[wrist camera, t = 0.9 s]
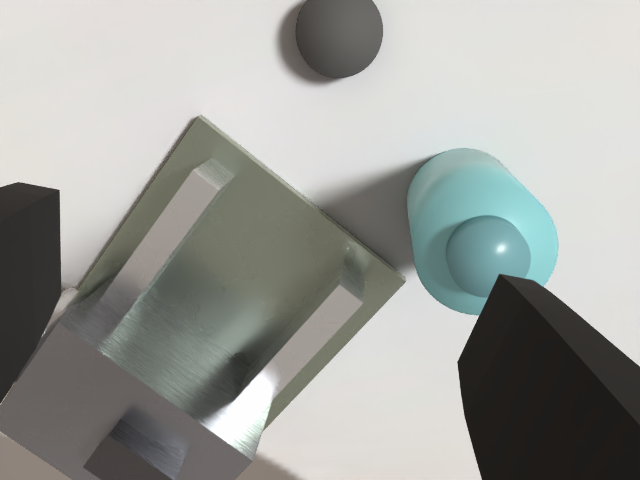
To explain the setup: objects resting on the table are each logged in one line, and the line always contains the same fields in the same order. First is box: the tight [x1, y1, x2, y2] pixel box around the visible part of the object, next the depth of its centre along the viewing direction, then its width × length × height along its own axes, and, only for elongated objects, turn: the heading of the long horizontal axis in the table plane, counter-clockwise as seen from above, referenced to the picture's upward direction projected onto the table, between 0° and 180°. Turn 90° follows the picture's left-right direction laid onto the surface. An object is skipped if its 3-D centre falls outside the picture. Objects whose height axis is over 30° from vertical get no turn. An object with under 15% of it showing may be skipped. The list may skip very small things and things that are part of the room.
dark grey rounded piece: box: [296, 0, 383, 78], centre depth 21 cm, size 3×3×1 cm
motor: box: [0, 115, 406, 480], centre depth 23 cm, size 11×15×6 cm
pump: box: [407, 148, 558, 315], centre depth 20 cm, size 4×4×7 cm
